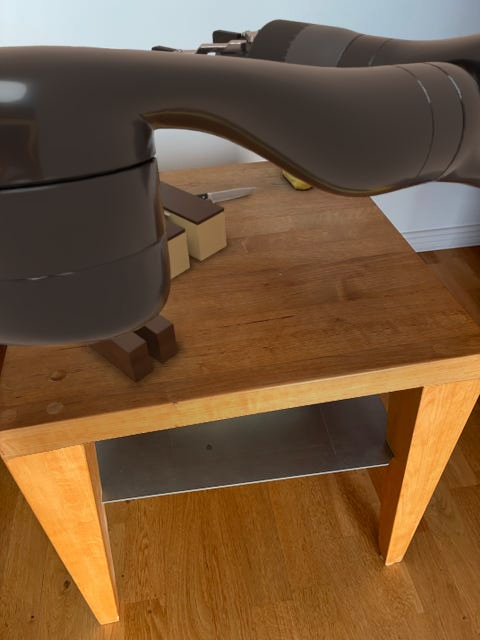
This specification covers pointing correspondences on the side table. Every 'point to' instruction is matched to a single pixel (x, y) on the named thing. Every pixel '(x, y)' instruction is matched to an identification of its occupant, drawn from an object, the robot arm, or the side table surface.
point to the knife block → (140, 347)
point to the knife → (226, 194)
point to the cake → (191, 227)
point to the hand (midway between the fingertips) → (186, 49)
